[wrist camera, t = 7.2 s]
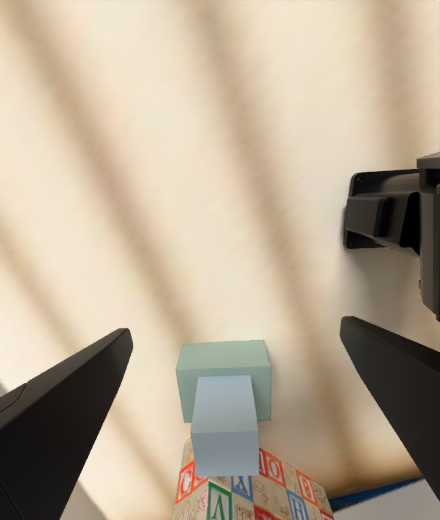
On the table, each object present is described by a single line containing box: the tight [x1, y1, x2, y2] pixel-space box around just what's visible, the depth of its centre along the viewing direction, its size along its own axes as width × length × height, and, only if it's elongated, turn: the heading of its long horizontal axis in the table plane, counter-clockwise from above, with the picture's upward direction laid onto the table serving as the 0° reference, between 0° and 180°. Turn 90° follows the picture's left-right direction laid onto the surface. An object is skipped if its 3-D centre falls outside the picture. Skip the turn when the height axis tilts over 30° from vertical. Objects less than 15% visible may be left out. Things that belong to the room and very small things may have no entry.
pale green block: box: [176, 340, 271, 423], centre depth 23 cm, size 9×7×4 cm
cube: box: [191, 375, 259, 477], centre depth 19 cm, size 5×5×5 cm
